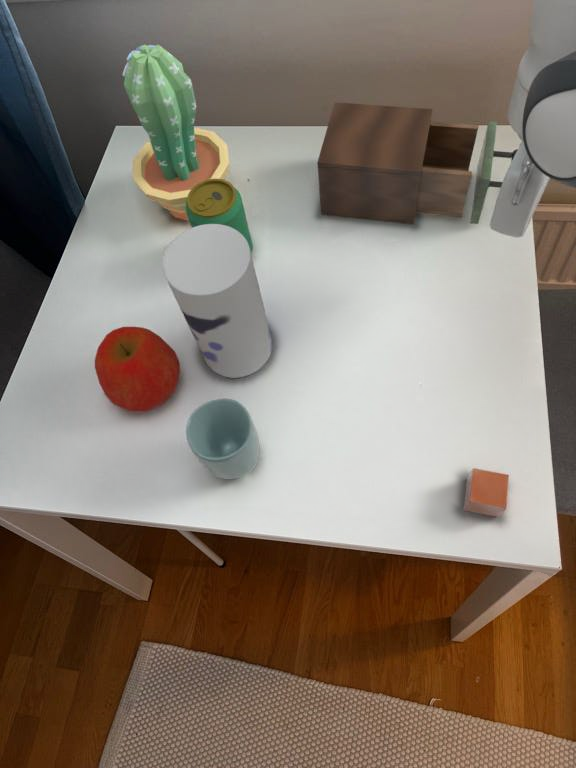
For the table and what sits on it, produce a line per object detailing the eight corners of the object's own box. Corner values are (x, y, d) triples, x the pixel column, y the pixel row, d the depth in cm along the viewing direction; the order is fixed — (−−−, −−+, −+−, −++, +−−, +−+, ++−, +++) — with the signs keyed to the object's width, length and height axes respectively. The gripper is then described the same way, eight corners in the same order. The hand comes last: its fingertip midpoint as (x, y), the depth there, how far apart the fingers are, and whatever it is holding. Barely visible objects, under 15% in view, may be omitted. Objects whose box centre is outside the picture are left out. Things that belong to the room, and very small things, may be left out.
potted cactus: (246, 166, 98) (215, 18, 76) (229, 238, 91) (189, 98, 69) (160, 164, 100) (104, 19, 78) (137, 233, 94) (69, 97, 72)
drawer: (515, 171, 90) (530, 124, 83) (510, 227, 86) (525, 182, 78) (398, 161, 94) (402, 114, 86) (387, 214, 89) (391, 170, 81)
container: (193, 369, 81) (148, 284, 64) (217, 311, 85) (181, 216, 68) (260, 385, 79) (232, 301, 61) (281, 324, 83) (261, 230, 65)
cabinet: (424, 165, 94) (432, 108, 85) (414, 224, 89) (421, 171, 79) (336, 157, 97) (334, 102, 87) (321, 214, 92) (317, 162, 82)
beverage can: (264, 253, 89) (251, 196, 79) (223, 283, 88) (205, 228, 77) (233, 225, 93) (217, 166, 82) (193, 253, 91) (171, 197, 80)
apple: (198, 362, 82) (178, 322, 72) (163, 430, 78) (137, 396, 68) (133, 341, 84) (105, 300, 75) (96, 405, 80) (62, 369, 71)
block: (501, 484, 70) (509, 474, 66) (498, 517, 68) (506, 508, 65) (467, 478, 71) (473, 468, 67) (463, 510, 69) (469, 501, 65)
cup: (211, 494, 73) (192, 469, 64) (199, 438, 77) (179, 408, 68) (271, 476, 73) (259, 449, 64) (256, 422, 77) (243, 389, 68)
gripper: (557, 183, 52) (521, 278, 64) (620, 45, 59) (576, 154, 71) (488, 165, 54) (465, 260, 66) (557, 33, 61) (525, 141, 73)
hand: (523, 204), depth 69 cm, fingers closed
